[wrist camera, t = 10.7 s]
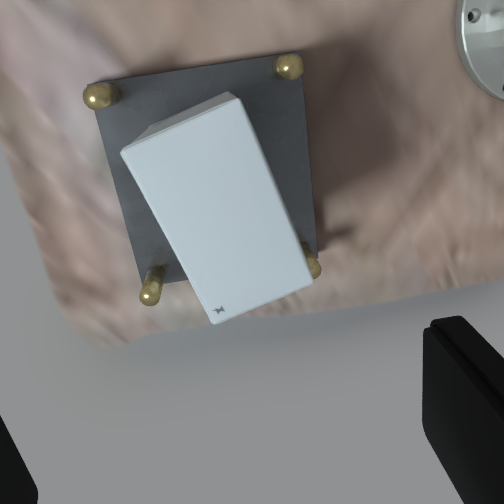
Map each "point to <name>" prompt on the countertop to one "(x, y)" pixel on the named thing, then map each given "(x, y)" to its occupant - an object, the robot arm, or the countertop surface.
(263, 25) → the countertop surface
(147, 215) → the chassis
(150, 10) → the countertop surface
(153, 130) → the skincare box
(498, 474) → the robot arm
